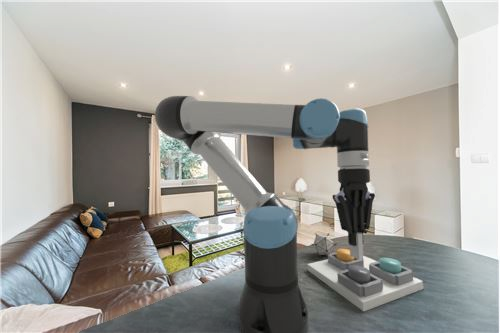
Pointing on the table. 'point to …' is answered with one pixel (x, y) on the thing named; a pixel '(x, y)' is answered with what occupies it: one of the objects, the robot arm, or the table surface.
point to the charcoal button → (359, 274)
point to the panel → (369, 294)
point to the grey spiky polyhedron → (323, 244)
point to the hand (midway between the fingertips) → (356, 257)
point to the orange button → (344, 255)
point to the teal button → (390, 265)
